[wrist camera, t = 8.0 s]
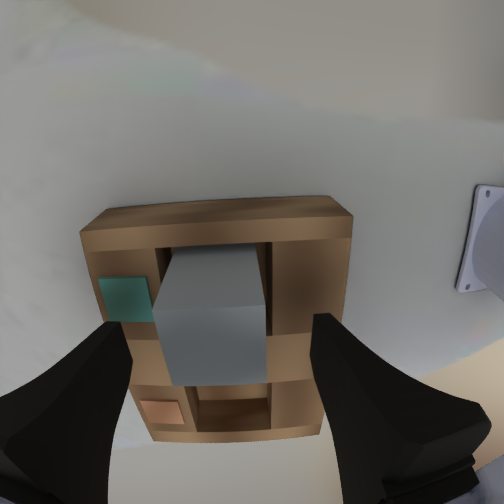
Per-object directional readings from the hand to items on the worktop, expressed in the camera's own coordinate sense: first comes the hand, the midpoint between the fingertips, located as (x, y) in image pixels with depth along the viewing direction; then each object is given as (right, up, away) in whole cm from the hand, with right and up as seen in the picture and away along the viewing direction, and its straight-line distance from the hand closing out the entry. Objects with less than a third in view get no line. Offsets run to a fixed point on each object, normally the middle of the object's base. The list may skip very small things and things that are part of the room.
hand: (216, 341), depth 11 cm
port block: (0, -1, +8) cm, 8 cm away
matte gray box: (0, +3, +6) cm, 6 cm away
